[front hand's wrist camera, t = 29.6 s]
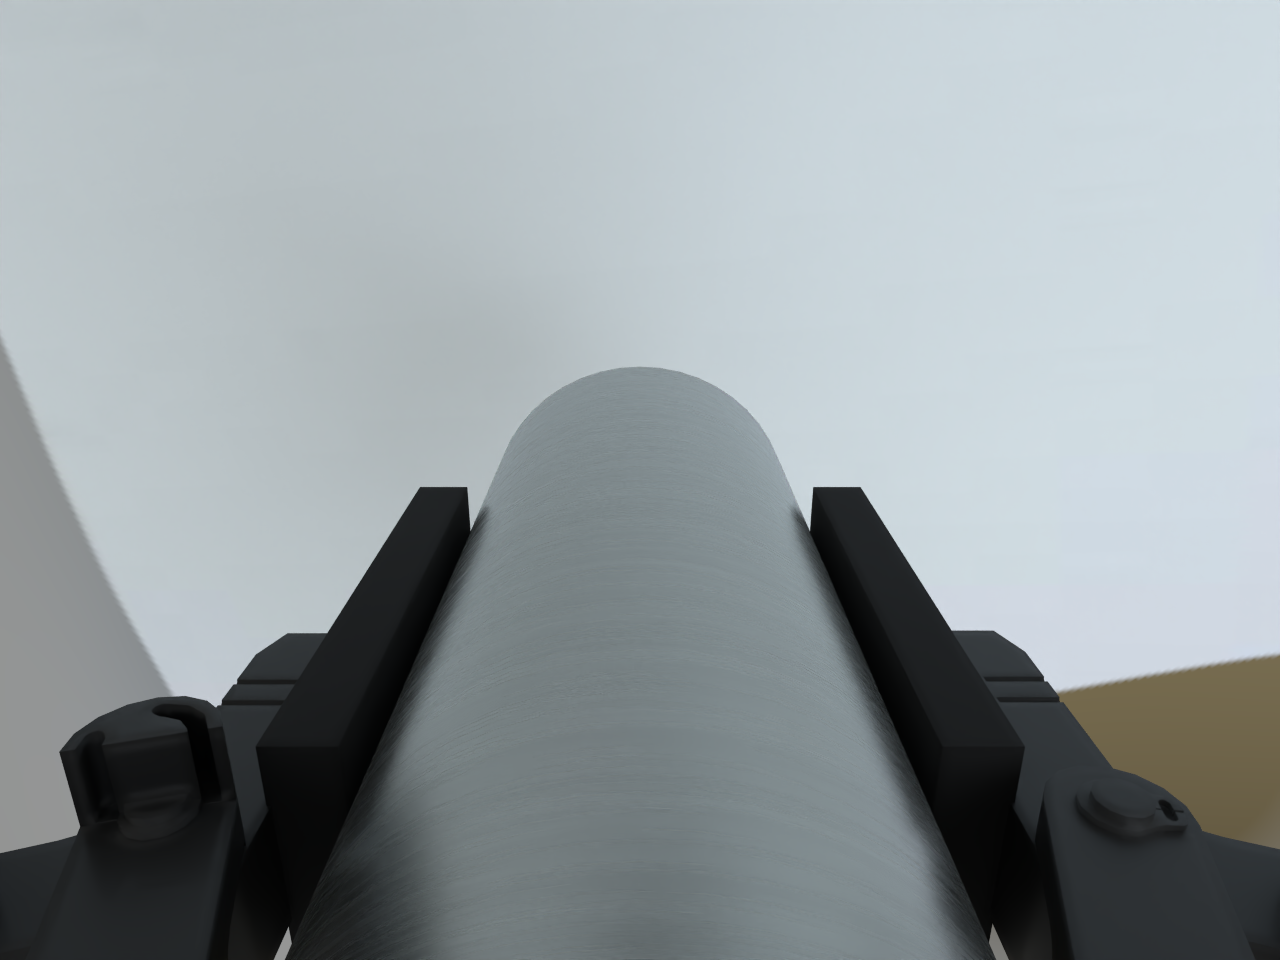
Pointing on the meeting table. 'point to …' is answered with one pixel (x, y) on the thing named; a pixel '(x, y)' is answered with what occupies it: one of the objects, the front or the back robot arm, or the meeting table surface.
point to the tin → (640, 723)
